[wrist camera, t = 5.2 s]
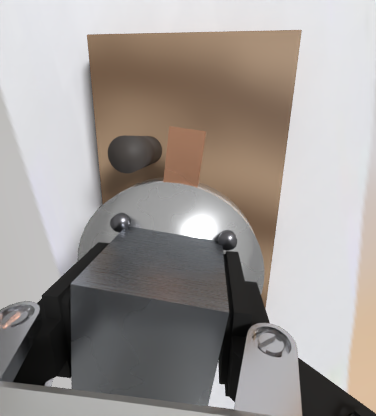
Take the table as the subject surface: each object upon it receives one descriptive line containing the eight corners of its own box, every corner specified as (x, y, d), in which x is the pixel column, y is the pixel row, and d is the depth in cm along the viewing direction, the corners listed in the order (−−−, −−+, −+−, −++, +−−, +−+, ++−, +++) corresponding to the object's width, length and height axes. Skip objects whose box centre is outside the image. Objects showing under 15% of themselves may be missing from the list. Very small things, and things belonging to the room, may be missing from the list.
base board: (254, 338, 20) (271, 421, 14) (124, 327, 21) (91, 400, 15) (288, 45, 14) (345, -23, 8) (103, 48, 14) (32, -11, 9)
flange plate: (239, 340, 14) (259, 482, 8) (91, 312, 14) (11, 429, 9) (289, 143, 11) (382, 151, 5) (94, 116, 11) (-31, 93, 5)
